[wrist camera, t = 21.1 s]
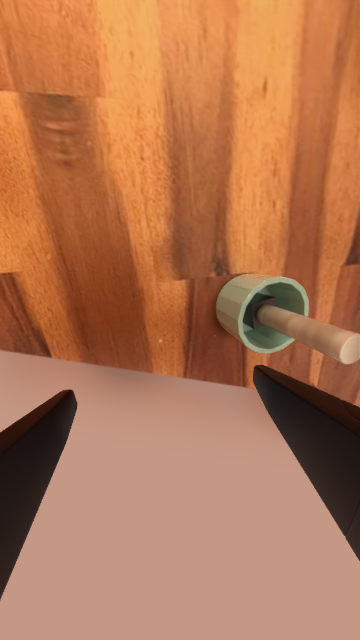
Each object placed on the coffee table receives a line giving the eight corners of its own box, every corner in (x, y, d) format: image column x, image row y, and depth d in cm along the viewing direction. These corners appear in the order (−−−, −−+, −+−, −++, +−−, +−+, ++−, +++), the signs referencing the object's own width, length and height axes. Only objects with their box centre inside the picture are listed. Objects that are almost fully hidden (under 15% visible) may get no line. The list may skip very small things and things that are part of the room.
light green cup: (261, 336, 25) (293, 355, 19) (209, 330, 23) (229, 350, 18) (279, 279, 23) (320, 285, 18) (224, 268, 21) (251, 270, 16)
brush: (237, 319, 23) (333, 376, 11) (234, 298, 22) (335, 337, 10) (258, 313, 23) (370, 361, 12) (255, 291, 22) (376, 322, 11)
